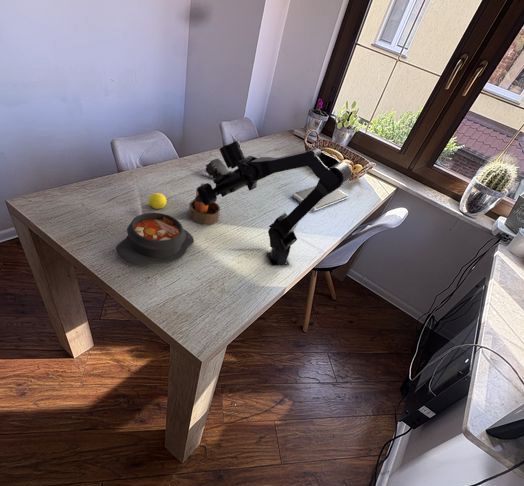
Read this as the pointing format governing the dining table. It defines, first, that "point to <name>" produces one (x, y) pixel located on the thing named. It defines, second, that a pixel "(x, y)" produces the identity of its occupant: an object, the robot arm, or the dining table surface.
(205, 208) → the bottle
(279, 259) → the robot arm
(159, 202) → the lemon
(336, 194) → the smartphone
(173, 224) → the casserole
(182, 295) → the dining table surface
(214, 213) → the bowl
